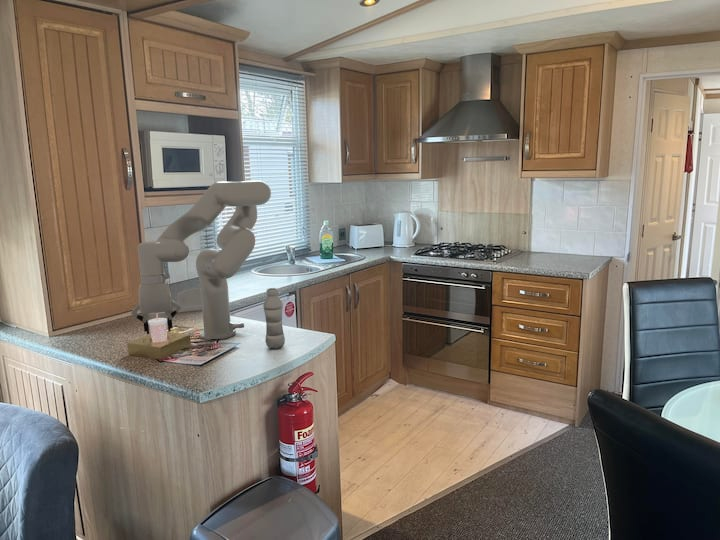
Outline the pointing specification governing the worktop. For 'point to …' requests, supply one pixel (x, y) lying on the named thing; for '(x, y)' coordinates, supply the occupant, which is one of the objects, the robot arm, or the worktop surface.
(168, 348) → the block
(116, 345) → the worktop surface
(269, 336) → the plastic bottle
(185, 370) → the worktop surface
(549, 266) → the worktop surface
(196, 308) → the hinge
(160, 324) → the beverage cup
